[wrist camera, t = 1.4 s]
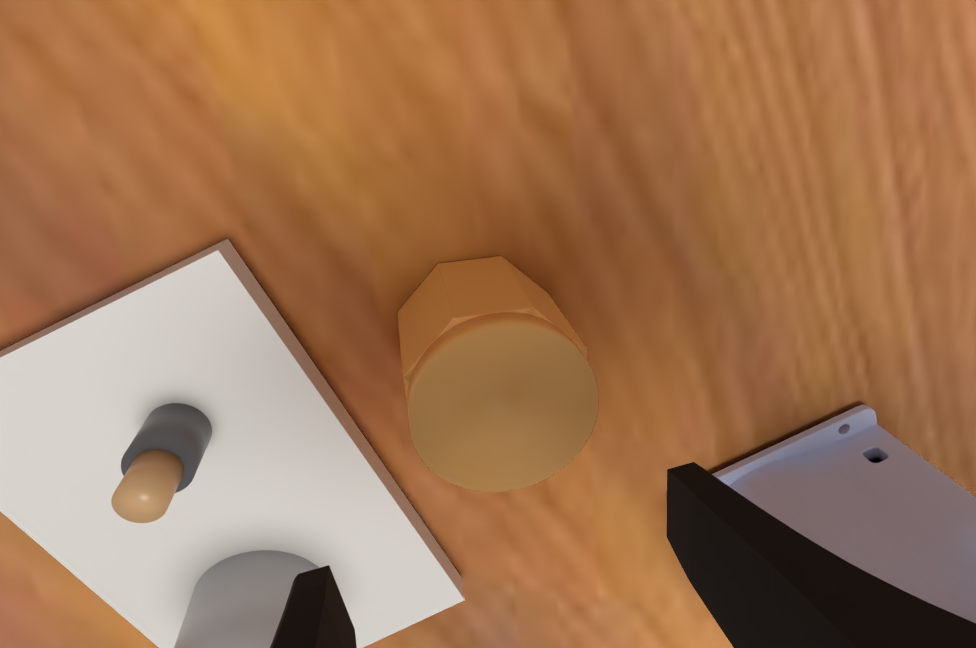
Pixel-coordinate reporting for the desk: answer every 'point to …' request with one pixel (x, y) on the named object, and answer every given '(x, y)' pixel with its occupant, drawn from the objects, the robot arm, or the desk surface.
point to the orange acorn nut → (493, 377)
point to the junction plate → (205, 466)
